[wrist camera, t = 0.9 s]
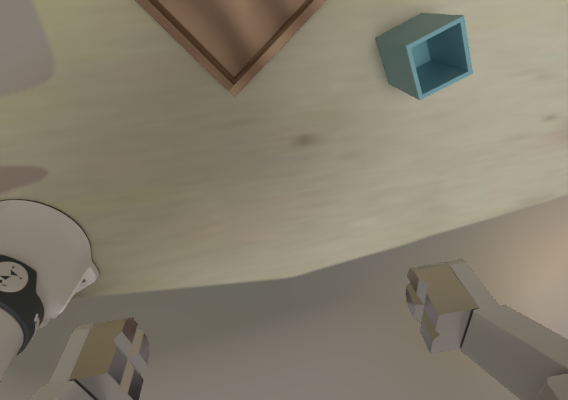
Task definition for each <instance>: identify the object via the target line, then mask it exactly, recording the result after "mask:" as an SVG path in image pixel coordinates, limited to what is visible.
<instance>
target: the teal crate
mask: <svg viewBox="0 0 568 400" xmlns="http://www.w3.org/2000/svg"><path fill="white" fill-rule="evenodd" d="M375 39H376V43H377V46H378V49H379V53H380V56H381V59H382V63H383V66H384V69H385V73H386V76H387V79H388V83H389V84H391V85H392V86H394V87H396V88H398V89H400V90H402V91H404V92H405V93H407V94H409V95H411V96H413V97H415V98H417V99H419V100H421V99H423V98H425V97H427V96H429V95H431V94H433V93H435V92H437V91H439V90H441V89H443V88H445V87H447V86H449V85H451V84H453V83H455V82H457V81H459V80H461V79H463V78H465V77H467V76H469V75H471V74H473V71H472V65H471V59H470V52H469V46H468V39H467V33H466V27H465V20H464V16H463V15H446V14H429V13H421V14H419V15H417V16H415V17H414V18H412V19H410V20H408V21H406V22H404V23H402V24H401V25H399V26H397V27H395V28H393V29H391V30H389V31H387V32H386V33H384V34H382V35H380V36H378V37H376V38H375Z"/></svg>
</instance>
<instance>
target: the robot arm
mask: <svg viewBox="0 0 568 400" xmlns="http://www.w3.org/2000/svg"><path fill="white" fill-rule="evenodd" d="M98 277H99V272H98V269H97V268H96V266H95V265H94V263H93V262H92V259H91V248H90V244H89V241H88V239H87V237H86V235H85V233H84V232H83V231H82V229H81V228H80V227H79V226H78V225H77V224H76V223H75V222H74V221H73V220H71V219H70V218H69V217H67V216H66V215H64V214H63V213H61V212H59V211H57V210H55V209H53V208H51V207H49V206H46V205H43V204H40V203H36V202H31V201H24V200H7V201H1V202H0V382H1V380H2V378H3V376H4V374H5V373H6V371H7V369H8V368H9V366H10V364H11V363H12V361H13V359H14V358H15V356H16V355H18V354H19V353H21V352H22V351H23V350H24V349H25V347H26V346H27V345H28V343H29V342H30V341H31V340H32V339H33V337H34V336H35V334H36V332H37V331H38V329H42V328H43V327H44V326H45V325H46V324H47V323H48V322H49V321H50V319H55V318H56V317H57V316H58V315H59V314H60V313H62V312H63V310H64V309H65V308H66V306H67V304H68V303H69V301H70V300H71V298H72V297H73V295H74V294H76V293H77V292H79V291H81V290H82V289H84V288H85V287H87V286H89V285H90V284H92V283H93V282H95V281H96V279H97V278H98ZM407 277H408V279H409V281H410V283H409V284H408V285H407V286H406V300H407V304H408V307H409V310H410V312H411V314H412V316H413V318H414V319H416V320H417V321H419V322H420V323H421V327H420V333H421V335H422V337H423V339H424V341H425V343H426V346H427V347H428V350H429V352H430V353H436V352H442V351H450V350H457V349H461V351H462V352H463V353H464V354H465V355H467V356H468V357H469V358H470V359H471V360H473V361H474V362H475V363H477V364H478V365H479V366H480V367H481V368H482V369H484V370H485V371H486V372H487V373H488V374H490V375H491V376H492V377H494V378H495V379H496V380H497V381H498V382H499V383H501V384H502V385H503V386H504V387H505V388H507V389H508V390H509V391H510V392H512V393H513V394H514V395H515V396H516V397H518V398H519V399H520V400H568V340H567V339H566V338H564V337H562V336H560V335H559V334H557V333H555V332H553V331H552V330H550V329H548V328H546V327H544V326H543V325H541V324H539V323H537V322H535V321H534V320H532V319H530V318H528V317H526V316H525V315H523V314H521V313H519V312H517V311H516V310H514V309H512V308H510V307H508V306H507V305H499V304H498V303H497V302H496V300H495V299H494V298H493V296H492V295H491V294H490V292H489V291H488V290H487V288H486V287H485V286H484V284H483V283H482V282H481V280H480V279H479V278H478V276H477V275H476V274H475V273H474V271H473V270H472V269H471V267H470V266H469V265H468V263H467V262H466V261H465V260H463V259H457V260H452V261H446V262H438V263H433V264H427V265H423V266H417V267H412V268H409V270H408V274H407ZM137 325H138V323H137V322H136V321H135V320H134V318H126V319H120V320H112V321H106V322H100V323H93V324H87V325H81V326H78V327H77V328H76V329H75V330H74V331H73V332H72V335H71V337H70V339H69V341H68V343H67V345H66V348H65V350H64V352H63V354H62V356H61V358H60V360H59V363H58V365H57V367H56V369H55V371H54V373H53V376H52V378H51V380H50V382H49V384H48V385H43V386H42V387H41V388H40V389H39V390H38V391H37V392H36V393H35V394H34V395H33V396H32V397H31V398H30V399H29V400H139V397H140V393H141V389H142V385H143V378H142V376H141V374H140V373H141V372H142V370H143V369H144V368H145V367H146V365H147V364H148V359H149V341H148V338H147V336H146V335H145V333H144V332H142V331H139V330H137Z"/></svg>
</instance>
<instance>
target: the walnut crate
mask: <svg viewBox="0 0 568 400" xmlns="http://www.w3.org/2000/svg"><path fill="white" fill-rule="evenodd" d="M135 1H136V2H137V3H138V4H139V5H140V6H141V7H143V8H144V9H145V10H146V11H147V12H148V13H149V14H150V15H151V16H152V17H153V18H154V19H155V20H156V21H157V22H158V23H159V24H160V25H161V26H162V27H163V28H164V29H165V30H166V31H167V32H168V33H169V34H170V35H171V36H172V37H173V38H174V39H175V40H177V41H178V42H179V43H180V44H181V45H182V46H183V47H184V48H185V49H186V50H187V51H188V52H189V53H190V54H191V55H192V56H193V57H194V58H195V59H196V60H197V61H198V62H199V63H200V64H201V65H202V66H203V67H204V68H205V69H206V70H207V71H208V72H209V73H210V74H212V75H213V76H214V77H215V78H216V79H217V80H218V81H219V82H220V83H221V84H222V85H223V86H224V87H225V88H226V89H227V90H228V91H229V92H230V93H231V94H232V95H233V96H234V97H235V96H236V95H237V94H238V93H239V92H240V91H241V90H242V88H243V87H244V86H245V85H246V84H247V83H248V82H249V81H250V80H251V79H252V78H253V77H254V76H255V75H256V74H257V73H258V72H259V71H260V70H261V69H262V67H263V66H264V65H265V64H266V63H267V62H268V61H269V60H270V59H271V58H272V57H273V56H274V55H275V54H276V53H277V52H278V51H279V50H280V49H281V48H282V46H283V45H284V44H285V43H286V42H287V41H288V40H289V39H290V38H291V37H292V36H293V35H294V34H295V33H296V32H297V31H298V30H299V29H300V28H301V27H302V25H303V24H304V23H305V22H306V21H307V20H308V19H309V18H310V17H311V16H312V15H313V14H314V13H315V12H316V11H317V10H318V9H319V8H320V7H321V6H322V5H323V3H324V2H325V1H326V0H135Z"/></svg>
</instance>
